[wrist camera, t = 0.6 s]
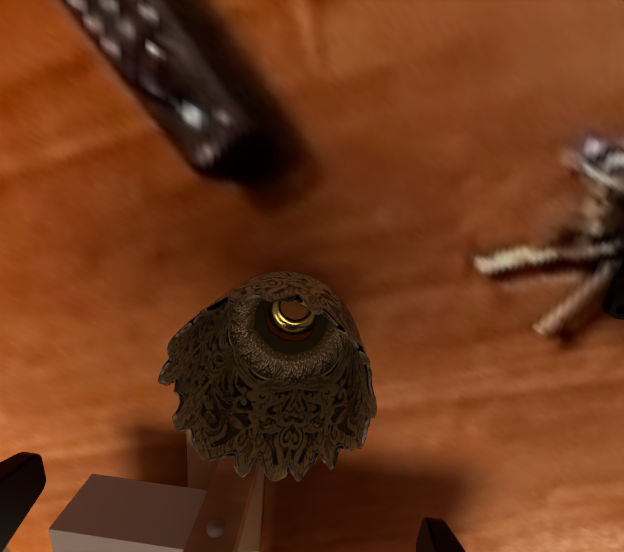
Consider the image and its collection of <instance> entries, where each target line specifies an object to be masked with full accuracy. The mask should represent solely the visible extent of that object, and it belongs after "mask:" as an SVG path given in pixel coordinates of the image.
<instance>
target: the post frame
mask: <svg viewBox="0 0 624 552" xmlns="http://www.w3.org/2000/svg"><path fill="white" fill-rule="evenodd" d="M186 432H187V472H188V488H194V489H201V490H207V493H206V495H205V498H204V500H203V503H202V505H201V508H200V510H199V513H198V515H197V518H196V520H195V523H194V525H193V528H192V530H191V533H190V535H189V538H188V540H187V543H186V545H185V548H184V550H183V552H237V551H238V548H240V549H246V550H253V551H260V544H261V529H262V515H263V501H264V487H265V473H264V470H263V467H262V463H261V461H258V462H257V463H256V464H255V465H254V467H253V469H252V470H250V472H249V473H248V474H247V475H246V476H245V477H239V475H238V473H237V472H236V470H235V468H234V465H235V457H234V456H233V457H225V458H222V459H219V460H215V461H209V462H205V461H203V460H202V459H201V458H200V456H199V455H198V453H197V452H196V450H195V448H194V447H193V445H192V442H191V434H190V429H188V430H186ZM233 458H234V460H233ZM258 459H261V458H260V457H259V458H258ZM258 459H257V460H258ZM257 460H256V461H257ZM256 461H255V462H256ZM232 463H233V464H234V465H233V464H232Z"/></svg>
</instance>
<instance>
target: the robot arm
mask: <svg viewBox="0 0 624 552" xmlns="http://www.w3.org/2000/svg"><path fill="white" fill-rule="evenodd" d="M618 306H620V308H619V309H618V310H617V311H615V309H616V308H617V307H618ZM604 310H605V312H606V313H607V314H608V315H609V316H611V317H613V318H616V319H622V320H624V259H623V261H622V264H621V266H620V269H619V271H618V274H617V276H616V279H615V281H614V284H613V286H612V289H611V291H610V294H609V296H608V299H607V301H606V304H605V307H604ZM45 483H46V476H45V471H44V466H43V461H42V457H41V456H40V455H39V454H36V453H29V452H21V453H18V454H16V455H14V456H12V457H10V458H8V459H6V460H4V461H2V462H0V552H3V550H4V549H5V547H6V546H7V544H8V542H9V541H10V539H11V538H12V536H13V535H14V533H15V532H16V530H17V529H18V527H19V526H20V524H21V523H22V521H23V520H24V518H25V517H26V515H27V514H28V512H29V511H30V509H31V507H32V506H33V504H34V503H35V501H36V500H37V498H38V497H39V495H40V494H41V492H42V491H43V489H44V486H45ZM416 552H465V550H464V549H463V547H462V546H461V544H460V543H459V541H458V540H457V538H456V537H455V535H454V534H453V532H452V531H451V529H450V528H449V526H448V525H447V523H446V522H445V521H444V520H443V519H441V518H436V517H430V516H425V517H424V518H423V520H422V524H421V527H420V531H419V534H418V538H417V542H416Z"/></svg>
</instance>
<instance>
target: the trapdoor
mask: <svg viewBox="0 0 624 552" xmlns="http://www.w3.org/2000/svg"><path fill="white" fill-rule="evenodd" d="M206 493H207V490H201V489H194V488H187V487H180V486H173V485H166V484H159V483H152V482H146V481H139V480H132V479H125V478H118V477H111V476H104V475H97V474H92V475H91V476H90V477H89V479H88V480H87V481H86V482H85V484H84V485H83V486H82V487H81V489H80V490H79V491H78V492H77V494H76V495H75V496H74V498H73V499H72V500H71V501H70V503H69V504H68V505H67V506H66V508H65V509H64V510H63V511H62V513H61V514H60V515H59V517H58V518H57V519H56V520H55V522H54V523H53V524H52V525H51V527H50V528H49V533H50V538H51V543H52V548H53V552H183V550H184V548H185V545H186V543H187V540H188V538H189V535H190V533H191V530H192V528H193V525H194V523H195V520H196V518H197V515H198V513H199V510H200V508H201V505H202V503H203V500H204V498H205V495H206ZM237 552H260V551H253V550H246V549H240V548H238V551H237Z"/></svg>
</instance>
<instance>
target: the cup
mask: <svg viewBox="0 0 624 552" xmlns="http://www.w3.org/2000/svg"><path fill="white" fill-rule="evenodd" d="M293 300H297V301H298V303H300V305H302V306H304V307H306V308H308V309H309V313H308V315H307V316H306V317H305V318H304V319H302V320H299V321H292V320H289V319H287V318H286V317H285V316H284V315H283V314H282V312H281V309H280V304H281V301H287V302H289V301H293ZM167 351H168V355H169V359H168V361H167V362H166V363H165V364H164V366H163V368H162V370H161V372H160V375H159V379H158V381H159V383H160V384H163V385H166V386H167V385H170V384H171V383H175V388H174V394H175V395H177V396H178V397H179V399H180V404H179V406H178V409H177V411H176V412H175V414H174V415H173V417H172V418H173V423H174V428H175V430H176V431H179V432H181V431H184V430H188V429H190V434H191V442H192V445H193V447H194V448H195V450H196V452H197V453H198V455H199V456H200V458H201V459H202V460H203V461H205V462H209V461H215V460H219V459H222V458H225V457H233V456H234V457H235V465H234V464H233V463H232V464H233V465H234V468H235V470H236V472H237V473H238V475H239V477H245V476H246V475H247V474H248V473H249V472H250V470H252V469H253V467H254V465H255V464H256V463H257V462H258V461H261V463H262V467H263V470H264V473H265V475H266V477H267V478H268V479H270V480H271V481H273V482H276V481H279V480H281V479H283V478H285V477H286V476H287V474H288V473H289V471H290V474H292V475H293V477H294V479H295V480H296V481H297V482H299V481H300V480H301V479H302V478H303V477H304V475H305V474H306V473H307V471H308V470H309V468H310V467H311V466H313V465H315V463H316V460H317V456H318V455H320V457H321V459H322V460H323V462H324V463H325V464H326V465H327V467H328V468H329V469H330V470H332V469H333V468H334V467H335V464H336V461H337V458H338V453H339V451H340V450H341V449H345V450H346V449H347V450H349V451H351V450H354V449H361V448H362V446H363V445H364V443H365V440H366V436H367V431H368V427H369V425H370V419H371V418H375V416H376V412H377V404H376V398H375V395H374V391H373V387H372V371H371V368H370V361H369V359H368V357H367V355H366V352H365V349H364V346H363V343H362V340H361V338H360V335H359V332H358V330H357V327H356V324H355V322H354V320H353V318H352V316H351V314H350V312H349V310H348V308H347V307H346V305H345V304H344V302H343V301H342V300H341V299H340V297H339V296H338V295H337V294H336V293H335V292H334V291H333V290H332V289H331V288H329V287H328V286H327V285H325V284H324V283H323V282H321V281H319V280H317V279H315V278H313V277H311V276H308V275H305V274H302V273H297V272H289V271H278V272H271V273H266V274H262V275H259V276H256V277H253V278H251V279H249V280H247V281H245V282H243V283H241V284H240V285H238V286H236V287H235V288H234V289H232V290H231V291H229V292H228V293H226V294H225V295H223V296H222V297H221V298H219V299H218V300H216V301H215V302H214V303H212V304H211V305H210V306H208V307H207V308H205V309H203V310H202V311H200V313H199V314H198V315H197V316H195V317H194V318H193V319H192V320H191V321H189V322H188V323H187V324H186V325H185V326H184V327H183V328H181V329H180V330H179V331H178V332H177V333H176V334H175V335H174V337H173V338H172V339H171V340H170V342H169V344H168V348H167ZM174 380H175V381H174ZM259 457H260V458H261V459H258V458H259ZM257 459H258V460H257ZM233 460H234V458H233ZM256 460H257V461H256ZM255 461H256V462H255Z"/></svg>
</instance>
